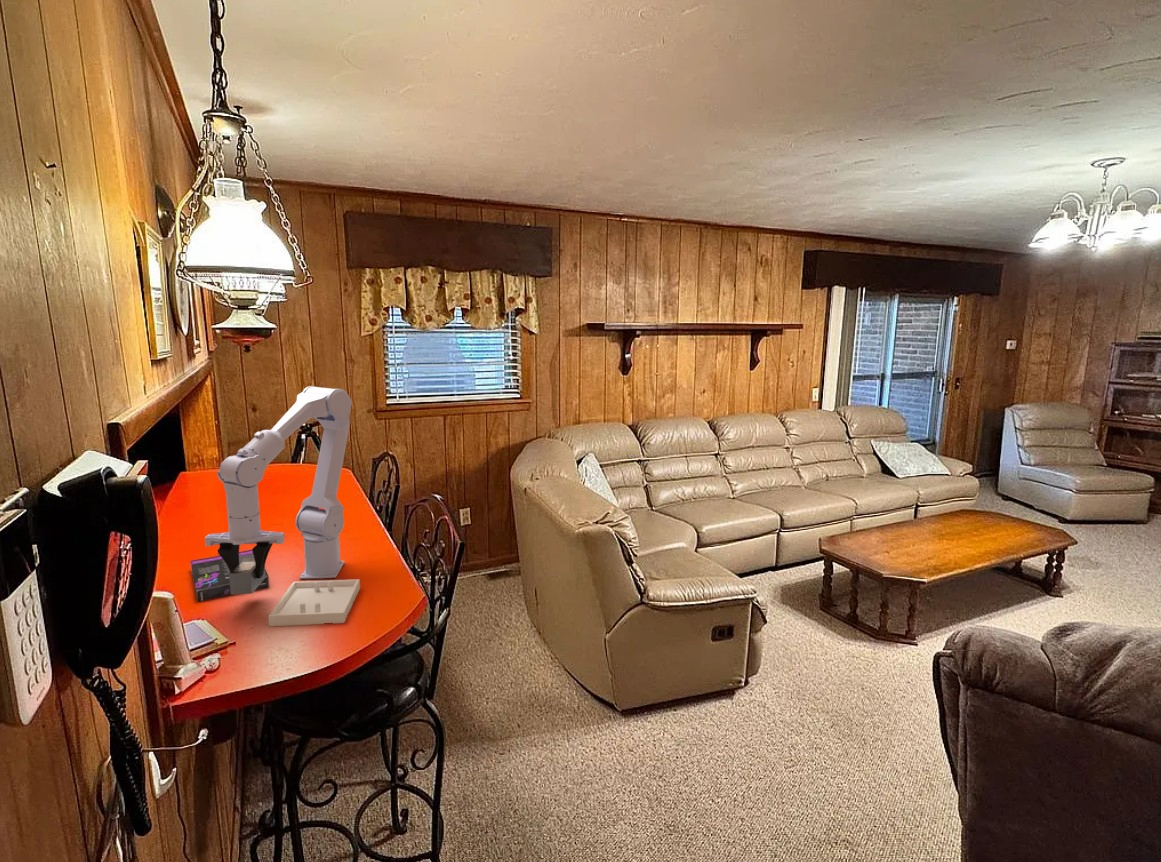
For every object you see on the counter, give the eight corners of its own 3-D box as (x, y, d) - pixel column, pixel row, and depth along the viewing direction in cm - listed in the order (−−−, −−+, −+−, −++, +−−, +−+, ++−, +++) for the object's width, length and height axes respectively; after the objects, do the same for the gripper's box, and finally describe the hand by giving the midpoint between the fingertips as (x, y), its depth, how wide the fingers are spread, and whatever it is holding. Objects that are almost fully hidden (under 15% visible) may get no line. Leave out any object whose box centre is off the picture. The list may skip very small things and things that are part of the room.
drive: (245, 578, 130) (244, 557, 129) (265, 577, 130) (264, 557, 129) (230, 594, 122) (229, 573, 121) (251, 593, 122) (250, 572, 122)
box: (191, 574, 143) (196, 604, 127) (190, 560, 142) (194, 588, 126) (257, 561, 151) (269, 589, 135) (256, 548, 150) (268, 574, 134)
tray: (293, 590, 134) (293, 578, 133) (359, 588, 136) (359, 576, 135) (269, 626, 118) (268, 612, 118) (344, 622, 120) (343, 608, 120)
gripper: (196, 521, 118) (201, 586, 121) (275, 519, 121) (279, 583, 123) (211, 510, 125) (216, 572, 127) (286, 509, 127) (289, 569, 130)
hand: (248, 576), depth 126 cm, fingers closed on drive, 4 cm apart
